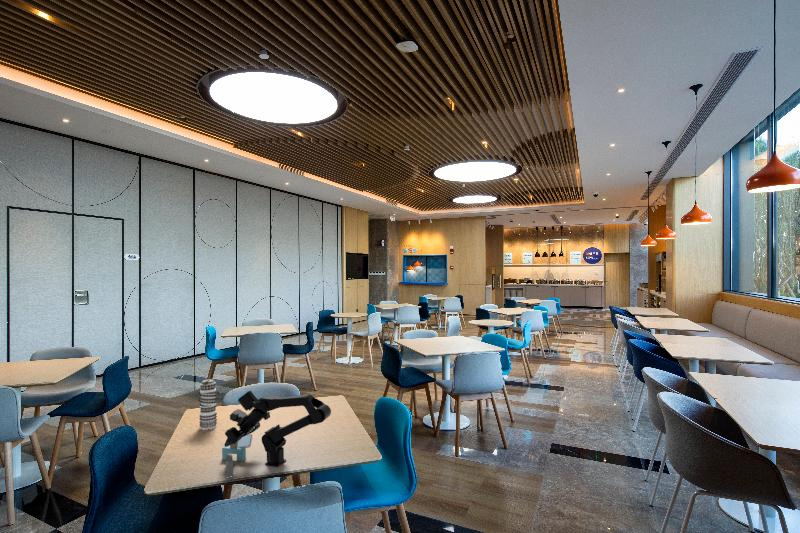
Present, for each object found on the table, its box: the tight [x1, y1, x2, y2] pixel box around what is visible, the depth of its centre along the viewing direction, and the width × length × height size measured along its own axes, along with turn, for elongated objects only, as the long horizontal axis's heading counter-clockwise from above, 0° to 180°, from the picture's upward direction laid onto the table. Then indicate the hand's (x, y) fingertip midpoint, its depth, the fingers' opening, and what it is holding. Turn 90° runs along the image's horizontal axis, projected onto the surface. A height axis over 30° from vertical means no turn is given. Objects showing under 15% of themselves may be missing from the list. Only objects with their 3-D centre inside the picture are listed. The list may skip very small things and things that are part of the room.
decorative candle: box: [198, 378, 218, 431], centre depth 227 cm, size 9×9×25 cm
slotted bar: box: [225, 453, 234, 478], centre depth 174 cm, size 12×2×5 cm, turn 23°
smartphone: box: [238, 433, 253, 448], centre depth 206 cm, size 7×1×15 cm
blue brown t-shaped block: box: [221, 442, 247, 462], centre depth 186 cm, size 10×2×10 cm, turn 77°
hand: (231, 441), depth 186 cm, fingers open, 9 cm apart
